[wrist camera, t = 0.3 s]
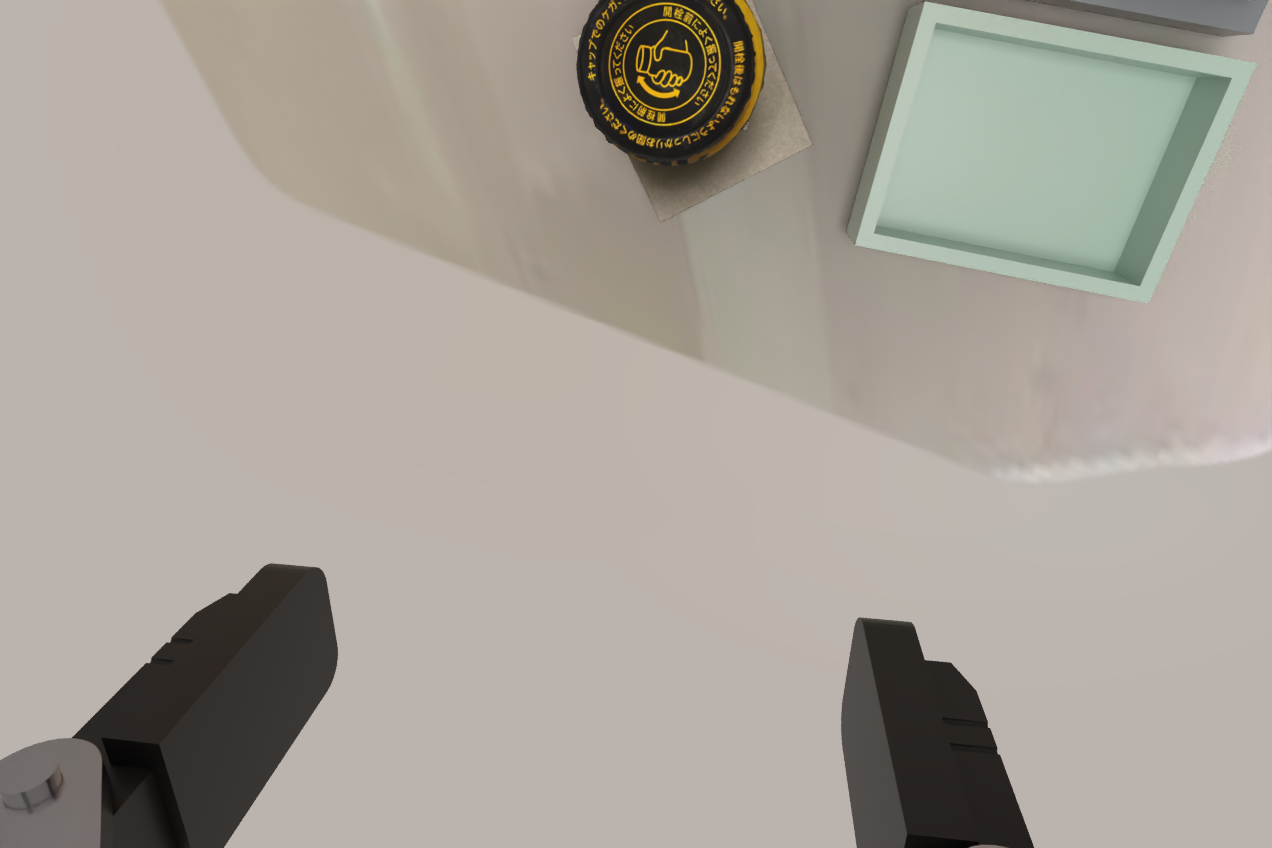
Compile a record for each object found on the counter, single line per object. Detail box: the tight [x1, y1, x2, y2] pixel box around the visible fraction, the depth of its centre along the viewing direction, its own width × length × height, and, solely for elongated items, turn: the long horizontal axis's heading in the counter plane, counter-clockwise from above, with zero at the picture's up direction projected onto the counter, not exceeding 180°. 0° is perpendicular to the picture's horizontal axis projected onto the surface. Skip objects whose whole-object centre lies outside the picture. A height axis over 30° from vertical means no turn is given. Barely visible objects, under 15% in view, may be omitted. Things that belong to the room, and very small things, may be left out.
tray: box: [846, 1, 1257, 304], centre depth 32 cm, size 9×12×3 cm
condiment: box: [571, 0, 812, 222], centre depth 29 cm, size 7×8×12 cm
